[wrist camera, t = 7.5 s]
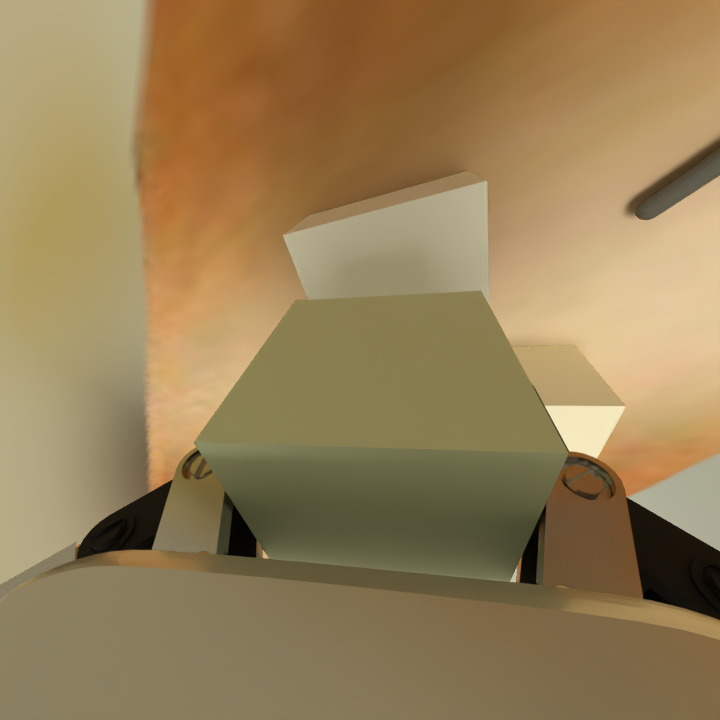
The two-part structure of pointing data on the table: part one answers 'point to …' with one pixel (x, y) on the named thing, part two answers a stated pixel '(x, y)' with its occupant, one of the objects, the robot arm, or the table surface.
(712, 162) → the walkie-talkie
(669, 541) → the robot arm
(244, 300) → the table surface
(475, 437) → the sage cube
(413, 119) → the table surface
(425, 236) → the base block
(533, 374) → the cream cube
